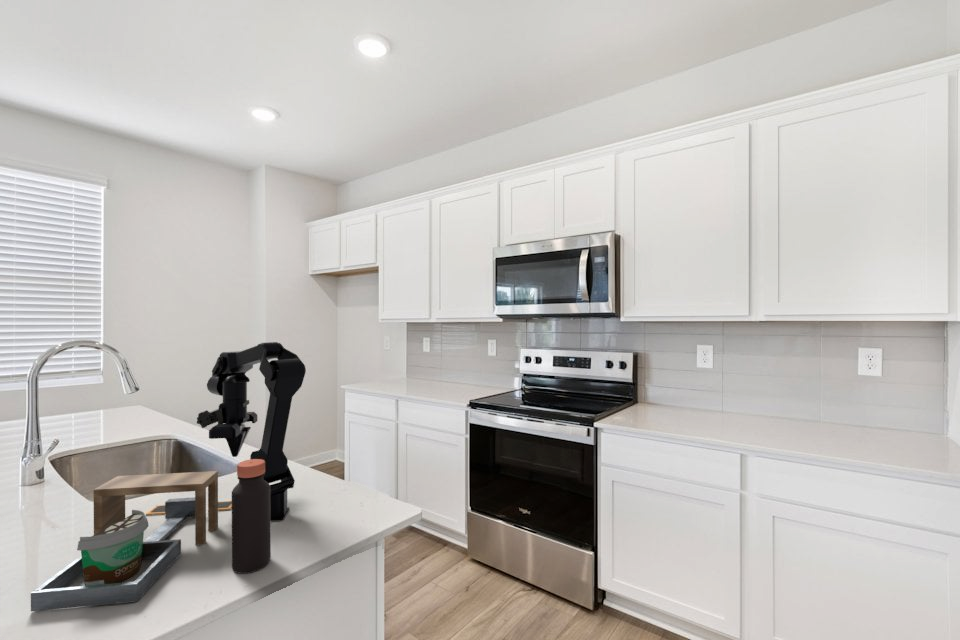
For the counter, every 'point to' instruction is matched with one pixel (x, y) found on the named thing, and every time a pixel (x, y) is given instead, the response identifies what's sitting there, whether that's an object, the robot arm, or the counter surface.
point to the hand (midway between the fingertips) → (235, 456)
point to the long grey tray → (153, 547)
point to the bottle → (251, 518)
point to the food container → (114, 551)
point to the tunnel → (113, 492)
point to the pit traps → (161, 508)
